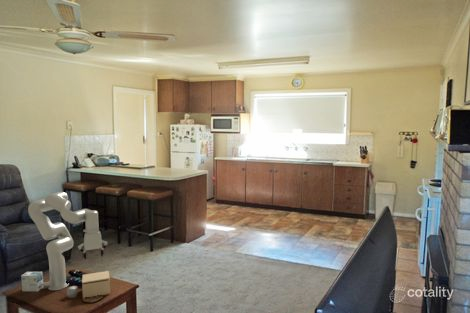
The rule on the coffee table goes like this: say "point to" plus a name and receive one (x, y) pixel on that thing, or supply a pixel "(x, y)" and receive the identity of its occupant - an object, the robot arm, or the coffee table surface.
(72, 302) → the coffee table surface
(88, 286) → the carton
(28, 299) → the coffee table surface
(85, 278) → the carton flap
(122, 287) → the coffee table surface
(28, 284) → the light bulb box
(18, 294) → the coffee table surface
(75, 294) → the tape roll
